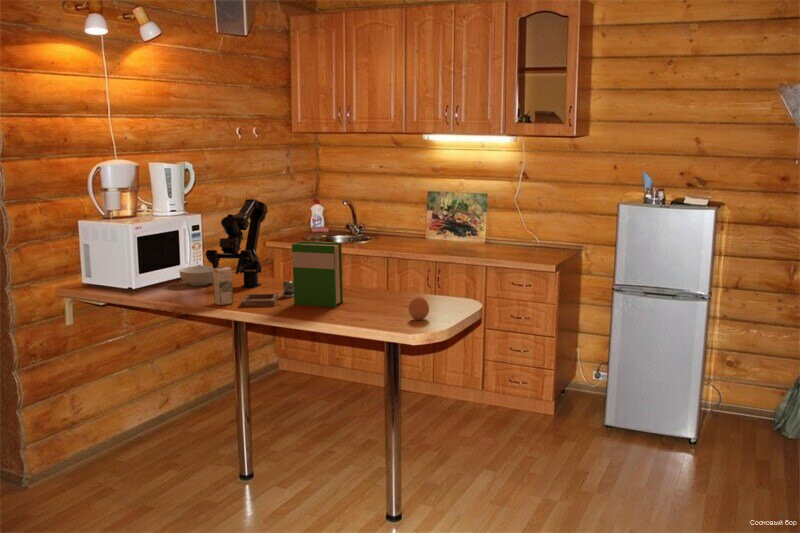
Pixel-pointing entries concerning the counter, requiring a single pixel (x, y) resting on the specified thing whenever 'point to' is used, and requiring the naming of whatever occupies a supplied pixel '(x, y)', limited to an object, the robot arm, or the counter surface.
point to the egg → (418, 308)
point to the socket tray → (259, 300)
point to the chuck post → (288, 289)
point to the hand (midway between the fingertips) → (225, 273)
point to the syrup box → (222, 285)
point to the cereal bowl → (197, 275)
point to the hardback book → (317, 273)
